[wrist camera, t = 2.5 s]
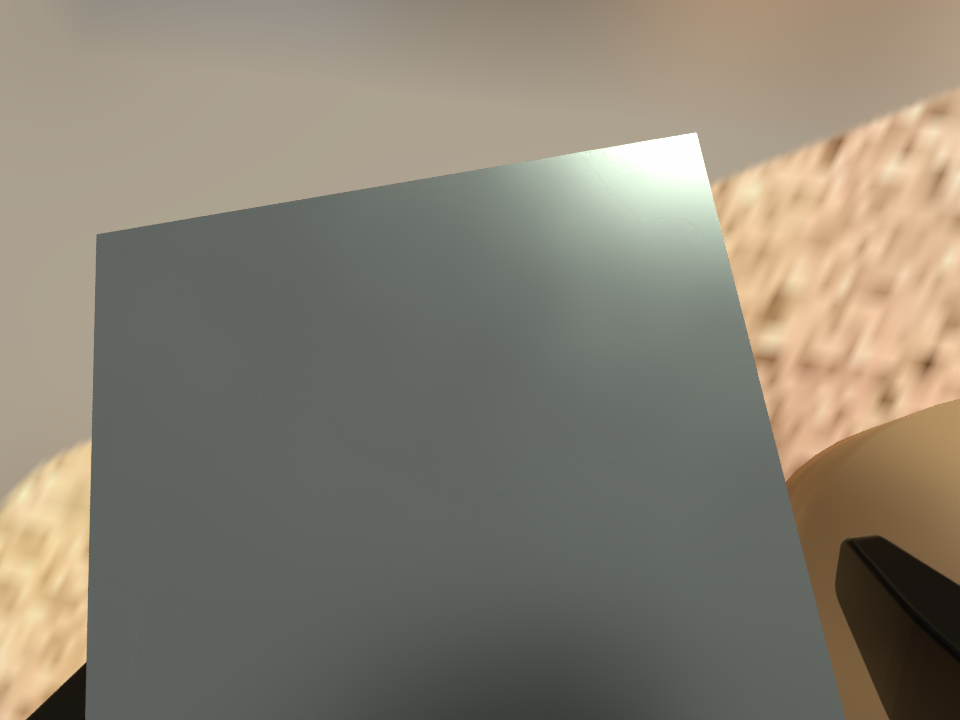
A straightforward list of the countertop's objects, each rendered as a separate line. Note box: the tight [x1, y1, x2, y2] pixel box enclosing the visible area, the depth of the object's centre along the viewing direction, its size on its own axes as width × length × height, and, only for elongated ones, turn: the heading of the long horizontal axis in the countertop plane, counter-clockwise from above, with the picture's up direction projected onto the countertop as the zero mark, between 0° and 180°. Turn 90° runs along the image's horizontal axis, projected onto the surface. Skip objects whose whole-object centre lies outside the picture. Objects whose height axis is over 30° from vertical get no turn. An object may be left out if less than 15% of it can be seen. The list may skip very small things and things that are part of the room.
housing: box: [85, 133, 846, 720], centre depth 11 cm, size 5×5×13 cm
